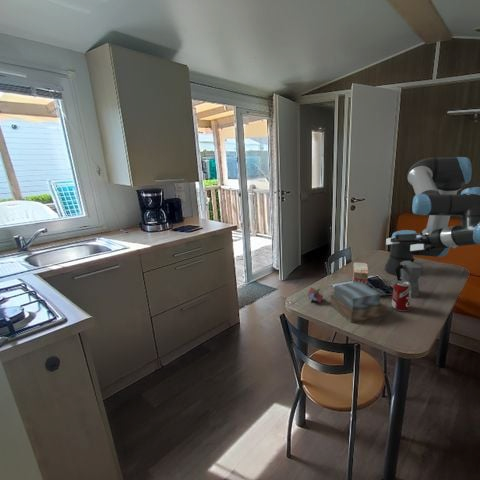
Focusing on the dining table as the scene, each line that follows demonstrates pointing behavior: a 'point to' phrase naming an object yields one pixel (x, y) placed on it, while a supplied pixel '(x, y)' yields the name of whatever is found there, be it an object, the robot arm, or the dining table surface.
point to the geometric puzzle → (315, 295)
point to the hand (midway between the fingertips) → (398, 245)
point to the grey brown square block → (356, 301)
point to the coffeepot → (410, 274)
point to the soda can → (401, 295)
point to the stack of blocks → (360, 272)
